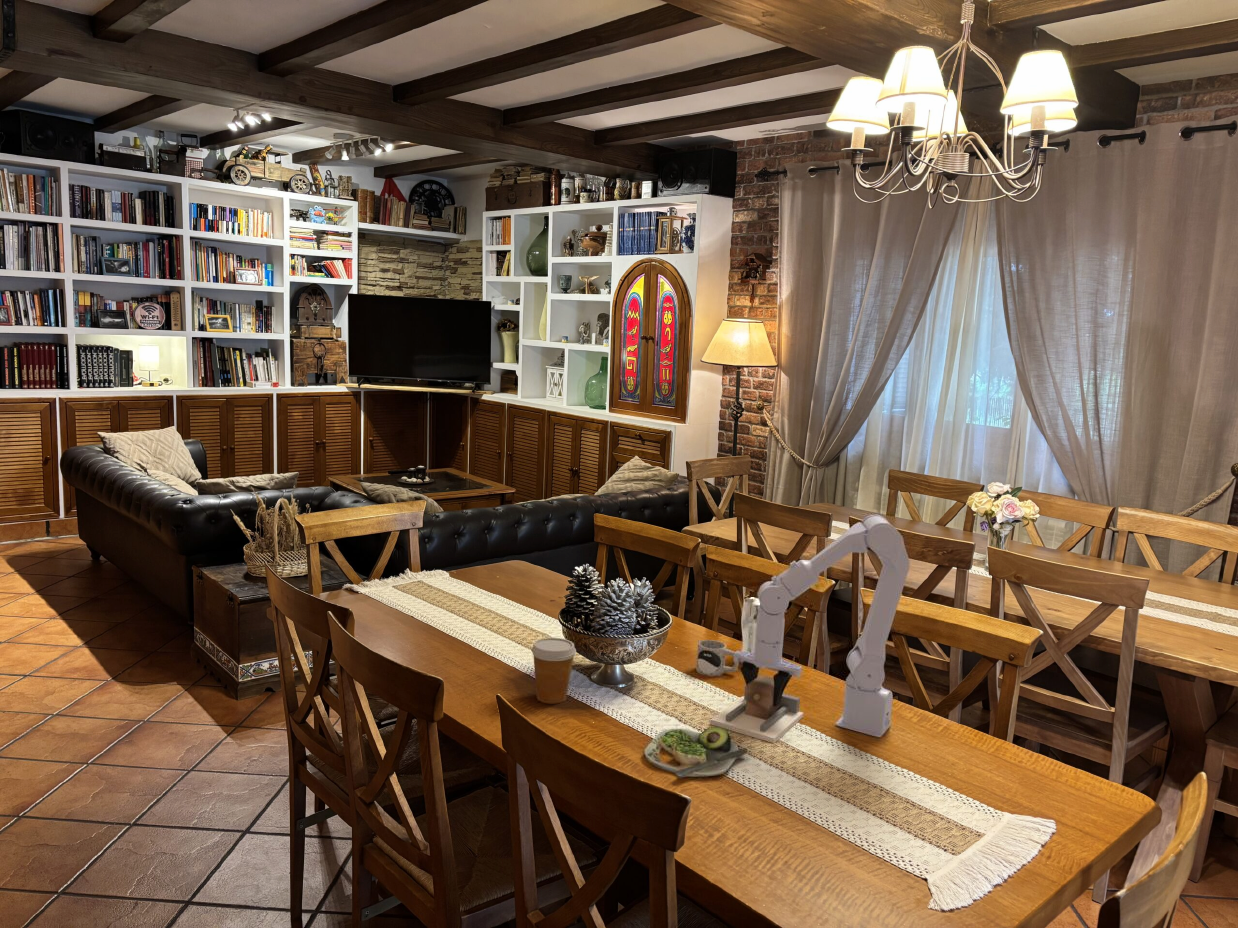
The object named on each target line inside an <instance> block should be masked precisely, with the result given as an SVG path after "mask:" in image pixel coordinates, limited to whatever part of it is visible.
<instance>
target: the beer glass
mask: <svg viewBox="0 0 1238 928" xmlns="http://www.w3.org/2000/svg"><path fill="white" fill-rule="evenodd" d="M759 604H760V601H759V599H758V597H747V598H744V599H743V604H742V609H741V619H740V620H741V623H740V624H741V633H742V634H741V635H742V648H741V651H742V652H749V653H754V650H755V638H756V625H757V616H758V609H759Z"/></svg>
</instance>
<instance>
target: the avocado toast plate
mask: <svg viewBox="0 0 1238 928" xmlns="http://www.w3.org/2000/svg"><path fill="white" fill-rule="evenodd" d="M727 730H728V729H725V728H721V727H718V726H710V727H708V728H705V729H704V731H702V732H696V731H695V730H694V731H693V730H690V729H686V728H670V729H665V730H662V731H660V732H659V733H657V734H656V735H655V737H654V738H653V739H652V740H651V741H650V743H648V744H647V746H646V747H645V748H644V750H643V751H644V752H643V753H644V757H645V758H646V759H647V761H648V762H649V763H651V764H652V765H653V766H654V767H657V769H660V770H662V771H664V772H667V773H668V772H669V773H671V774H674V775H675V776H676V777H678V778H685V777H687V778H699V777H701V778H702V777H714V776H715V777H716V776H720V775H723V774H724V773H726V772H727V771H728V770H729V769H730V768H731V766H732V765H733V763H734V762H736V760H737V759H739V758H741V757H742V756H744V755H745V754H747V753H749V751H748V748H745V747H744V748H743V747H742V748H739V746H738V745H737V744H736V743H735V742H733V741H731V736H730V734H729V732H728V731H727ZM661 749H663V750H664V751H665V752H667V753H669V754H671V755H673V757H674V760H675V761H674V763H675V764H674V763H667V762H664V761H662V760H661V758H660V755H659V753H660V752H661Z"/></svg>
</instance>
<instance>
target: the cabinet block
mask: <svg viewBox="0 0 1238 928" xmlns="http://www.w3.org/2000/svg"><path fill="white" fill-rule="evenodd" d="M773 698H774V679H773V677H770V676H767V675H762V674H760V675H758V677H757V678H756V679H754V680H753V681H752V682H750V683H749V684H748V685H747V698H746V710H745V714H747V715H750V716H754V717H757V718H761V719H764V720H767V719H768V718H770V717H771V716H772V715H773V714H774V713H776V712H777V711H778V710H779V709H780V706H781V701H780V704H779V705H778V706H773Z"/></svg>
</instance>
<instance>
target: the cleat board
mask: <svg viewBox="0 0 1238 928" xmlns="http://www.w3.org/2000/svg"><path fill="white" fill-rule="evenodd" d="M746 698H747V686H746V685H745V686H744V695H743V696H741V697H739V698H738V699H737V700H735V701H733V703H731V704H730V705H729V706H727V707H725V708H724V709H723V710H722V711H720V712H719V713H717V714H716V715H714V716H713V717H712V718H711V719H710V720H709V721H710V722H709V723H710V724H709V725H713V726H714V727H720V728H723V729H725V730H728V731H732V732H736V733H738V734H743V735H745V736H749V737H751V738H755V739H758V740H763V741H765V742H769V743H771V744H775V743H776V742H777V741H778V740H779V739H780V738H782V737H783V736H784V735H785V734H786V733H787V732H788V731H790V730H791V729H792V728H793V727H794V726H795V725H796V724H797V723H798V722H799V721H801V720H802V718H804V712H802V711H800V703H801V702H800V700H801V698H800V697H796V696H794V695H793V696H792V695H791V694H787V693H783V694H782V697H781V706H780V709H779V710H778V711H777V712H776V713H774V714H773V715H772V716H771V717H770V718H768V719H767V720H764V719H761V718H757V717H754V716H750V715H747V714H745V710H746Z"/></svg>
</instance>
